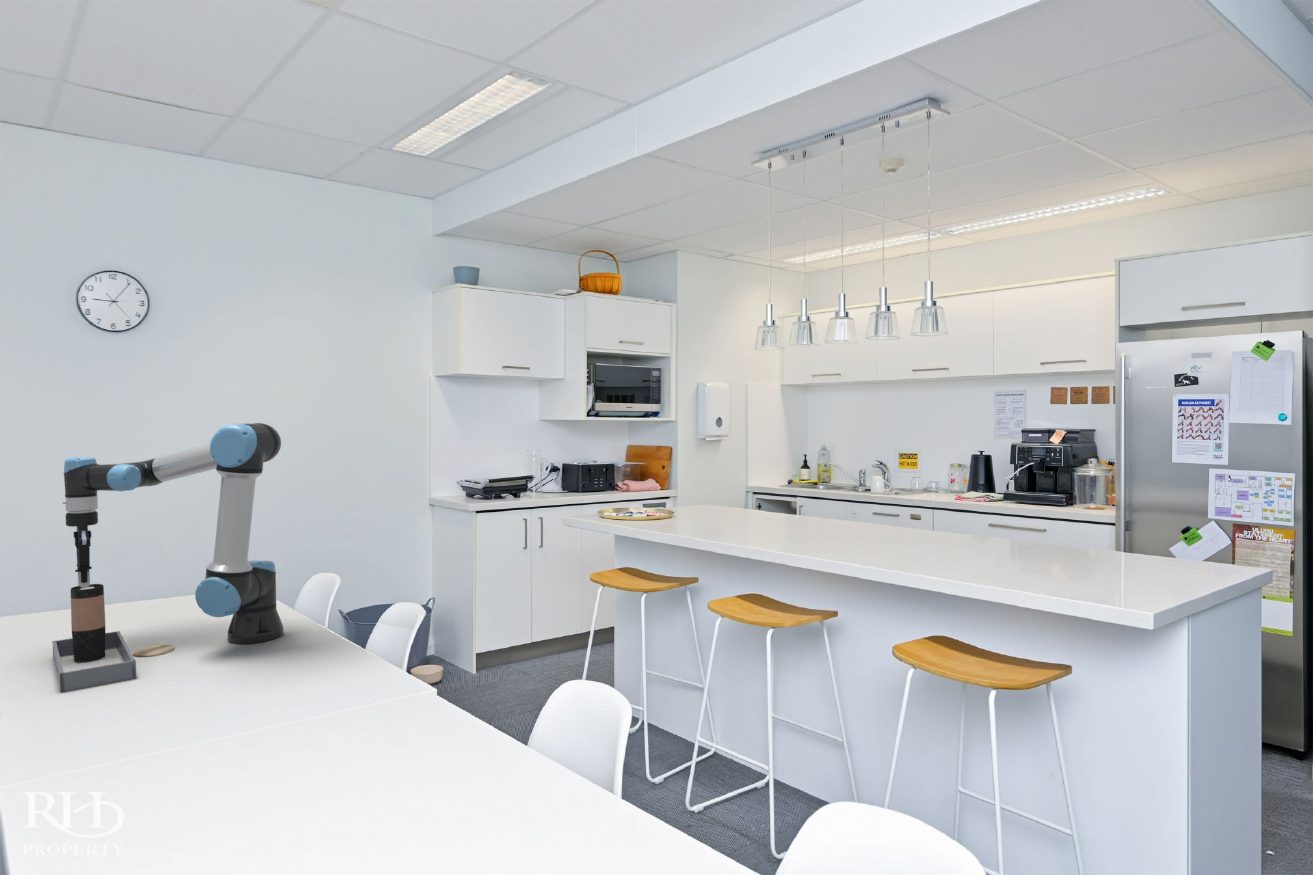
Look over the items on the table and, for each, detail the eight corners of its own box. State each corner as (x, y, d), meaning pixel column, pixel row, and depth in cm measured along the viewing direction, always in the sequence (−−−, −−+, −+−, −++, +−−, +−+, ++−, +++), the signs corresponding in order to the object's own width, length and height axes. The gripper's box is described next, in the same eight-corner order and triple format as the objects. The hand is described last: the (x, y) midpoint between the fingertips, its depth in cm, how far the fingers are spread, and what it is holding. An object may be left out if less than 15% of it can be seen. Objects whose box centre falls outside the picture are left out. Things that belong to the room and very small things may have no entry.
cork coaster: (181, 646, 234) (181, 644, 234) (160, 656, 224) (160, 655, 224) (147, 646, 234) (147, 644, 234) (124, 657, 224) (124, 655, 224)
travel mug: (93, 662, 219) (90, 589, 219) (65, 662, 220) (63, 589, 219) (113, 654, 227) (110, 583, 226) (86, 654, 227) (83, 583, 227)
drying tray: (53, 657, 225) (52, 641, 225) (119, 646, 235) (119, 630, 235) (60, 692, 196) (59, 673, 196) (136, 678, 206) (135, 660, 206)
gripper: (64, 510, 233) (66, 591, 234) (66, 514, 223) (69, 599, 224) (95, 508, 238) (98, 587, 239) (99, 512, 228) (102, 595, 229)
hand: (84, 593), depth 231 cm, fingers closed
